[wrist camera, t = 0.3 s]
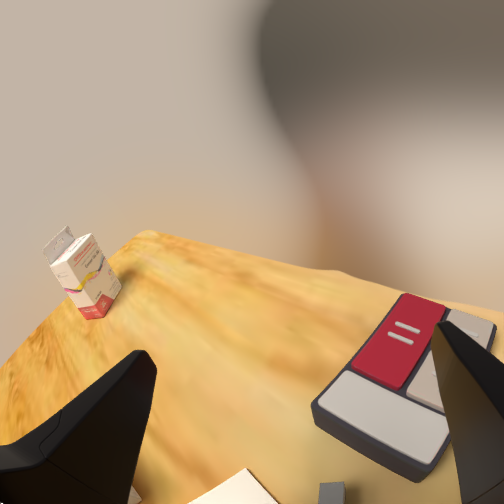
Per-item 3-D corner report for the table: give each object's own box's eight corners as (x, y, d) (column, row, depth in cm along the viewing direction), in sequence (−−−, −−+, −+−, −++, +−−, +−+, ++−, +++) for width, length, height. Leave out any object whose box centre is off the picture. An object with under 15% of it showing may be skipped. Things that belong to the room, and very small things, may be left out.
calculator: (500, 318, 18) (432, 471, 11) (488, 349, 21) (418, 485, 13) (402, 285, 27) (306, 400, 19) (400, 316, 29) (312, 423, 22)
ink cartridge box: (105, 318, 44) (56, 244, 36) (85, 320, 45) (38, 251, 37) (123, 285, 51) (84, 216, 43) (105, 289, 52) (66, 224, 44)
